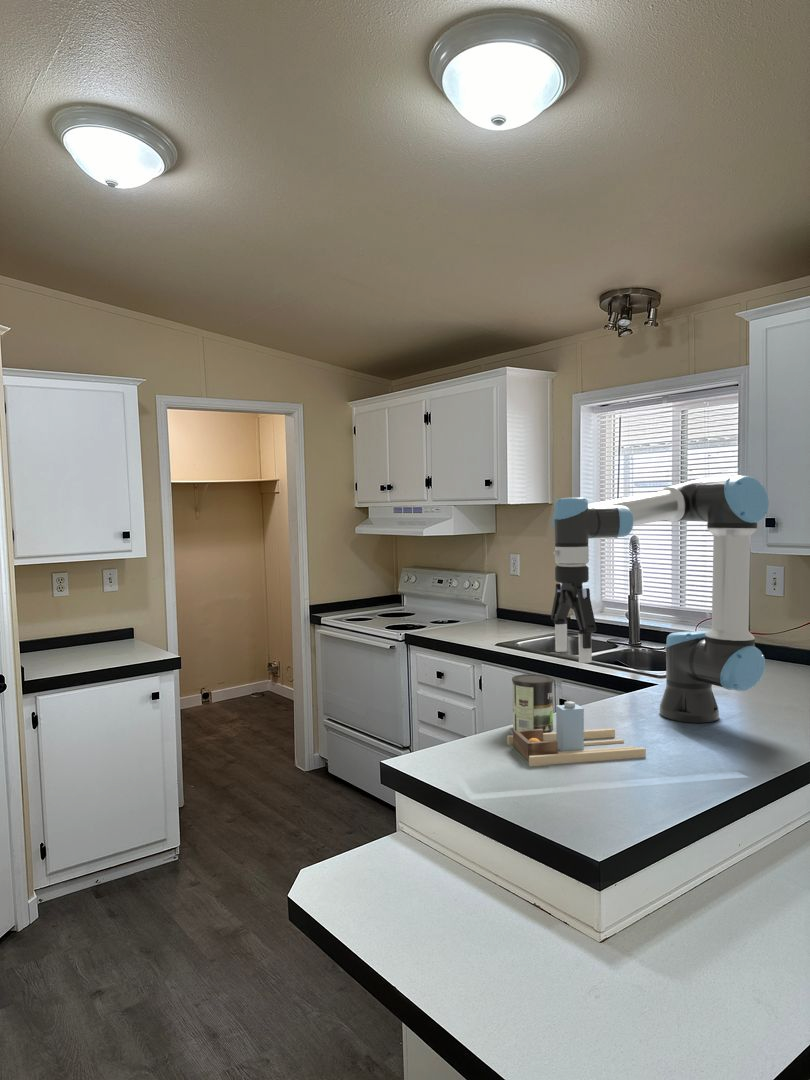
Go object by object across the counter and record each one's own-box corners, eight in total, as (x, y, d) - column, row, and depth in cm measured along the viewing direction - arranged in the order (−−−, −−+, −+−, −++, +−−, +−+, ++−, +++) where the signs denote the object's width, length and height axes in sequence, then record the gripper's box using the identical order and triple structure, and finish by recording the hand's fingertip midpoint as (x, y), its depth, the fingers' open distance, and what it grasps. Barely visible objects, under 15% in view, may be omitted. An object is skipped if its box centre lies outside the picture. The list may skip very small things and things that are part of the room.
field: (613, 740, 178) (613, 728, 178) (645, 762, 162) (645, 748, 162) (507, 747, 173) (507, 735, 173) (530, 771, 158) (530, 757, 158)
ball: (529, 754, 168) (541, 744, 168) (535, 759, 164) (547, 749, 165) (521, 742, 167) (533, 732, 168) (526, 747, 164) (538, 737, 164)
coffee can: (553, 728, 189) (553, 674, 189) (553, 740, 179) (553, 683, 178) (513, 726, 191) (513, 673, 191) (511, 738, 181) (510, 682, 180)
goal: (541, 745, 172) (541, 728, 172) (557, 759, 162) (557, 741, 162) (513, 747, 170) (513, 730, 170) (527, 761, 161) (527, 743, 161)
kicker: (576, 746, 170) (576, 699, 170) (583, 752, 166) (583, 704, 166) (556, 748, 169) (556, 701, 169) (563, 753, 165) (562, 705, 165)
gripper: (536, 562, 179) (538, 647, 179) (578, 569, 154) (579, 668, 155) (565, 561, 180) (566, 646, 181) (611, 568, 155) (612, 666, 156)
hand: (572, 656), depth 168 cm, fingers open, 13 cm apart
